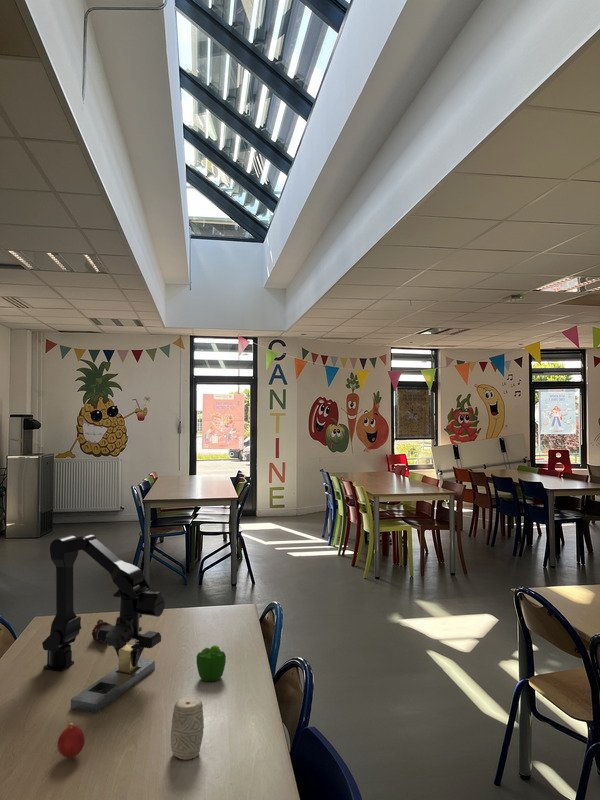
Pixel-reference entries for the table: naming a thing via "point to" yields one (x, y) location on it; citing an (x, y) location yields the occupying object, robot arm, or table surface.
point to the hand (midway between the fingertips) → (128, 665)
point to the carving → (187, 728)
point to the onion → (71, 741)
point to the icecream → (97, 627)
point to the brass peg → (126, 661)
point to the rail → (110, 688)
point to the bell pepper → (211, 663)
